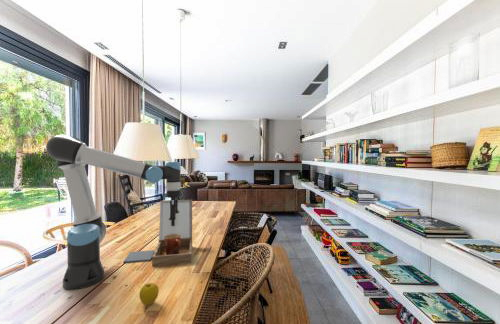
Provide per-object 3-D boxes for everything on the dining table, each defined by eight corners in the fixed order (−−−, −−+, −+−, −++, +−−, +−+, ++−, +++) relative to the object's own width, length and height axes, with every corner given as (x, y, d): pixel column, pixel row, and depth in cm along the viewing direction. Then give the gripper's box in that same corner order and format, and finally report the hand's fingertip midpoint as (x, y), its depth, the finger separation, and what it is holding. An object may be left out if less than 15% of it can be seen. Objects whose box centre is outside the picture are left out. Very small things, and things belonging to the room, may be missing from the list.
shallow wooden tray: (191, 262, 124) (191, 251, 124) (152, 266, 120) (152, 255, 120) (192, 246, 147) (192, 237, 147) (159, 249, 143) (158, 239, 143)
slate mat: (150, 260, 127) (150, 259, 127) (123, 263, 124) (123, 261, 124) (154, 251, 139) (154, 250, 139) (130, 253, 137) (130, 252, 137)
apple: (135, 307, 87) (135, 285, 87) (148, 297, 93) (148, 277, 93) (149, 311, 85) (149, 288, 84) (162, 301, 90) (162, 279, 90)
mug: (161, 254, 135) (161, 236, 134) (175, 250, 141) (175, 232, 141) (172, 260, 126) (172, 241, 126) (187, 256, 133) (186, 237, 133)
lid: (192, 199, 154) (192, 199, 155) (160, 200, 150) (160, 201, 151) (192, 237, 147) (192, 237, 148) (158, 239, 143) (159, 240, 144)
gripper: (179, 192, 122) (180, 234, 122) (182, 186, 146) (182, 221, 147) (163, 193, 120) (164, 235, 121) (168, 187, 145) (169, 222, 145)
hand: (174, 228), depth 134 cm, fingers open, 13 cm apart
